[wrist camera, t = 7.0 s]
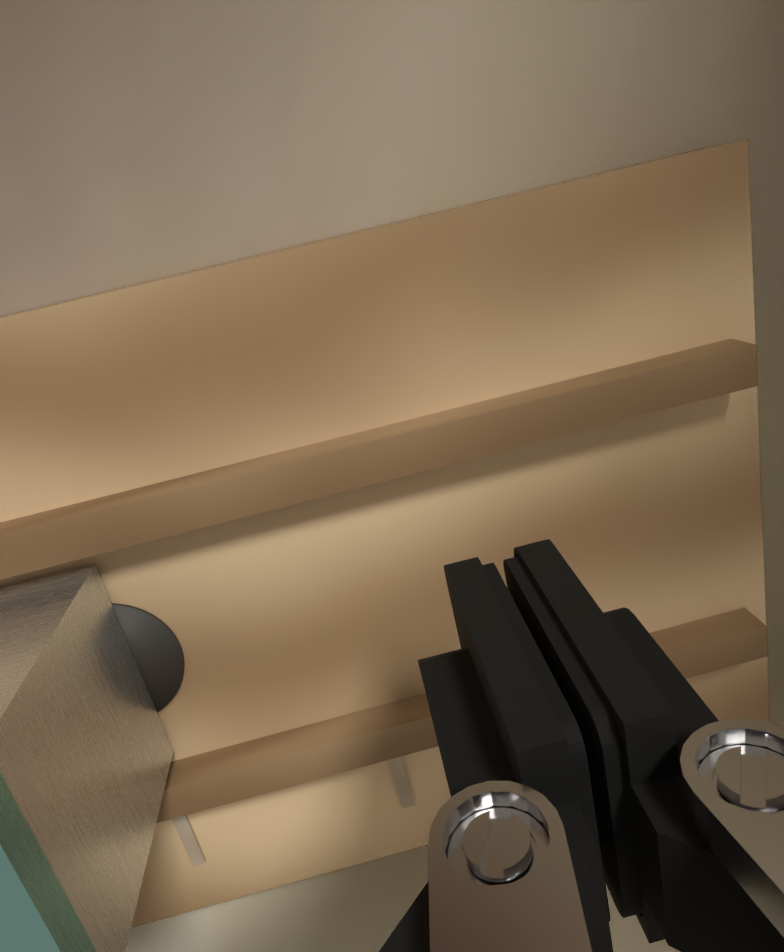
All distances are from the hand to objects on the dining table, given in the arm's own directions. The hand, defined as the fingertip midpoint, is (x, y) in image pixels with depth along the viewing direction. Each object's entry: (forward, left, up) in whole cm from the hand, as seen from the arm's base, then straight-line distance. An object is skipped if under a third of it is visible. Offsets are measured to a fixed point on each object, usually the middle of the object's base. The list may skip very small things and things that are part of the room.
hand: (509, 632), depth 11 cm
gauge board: (+1, -6, -5) cm, 8 cm away
